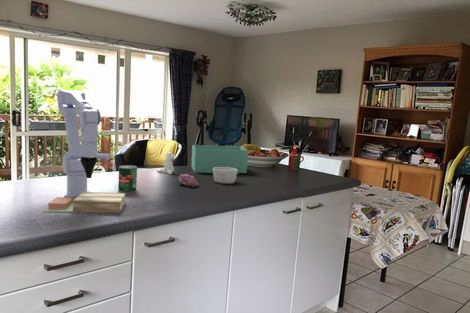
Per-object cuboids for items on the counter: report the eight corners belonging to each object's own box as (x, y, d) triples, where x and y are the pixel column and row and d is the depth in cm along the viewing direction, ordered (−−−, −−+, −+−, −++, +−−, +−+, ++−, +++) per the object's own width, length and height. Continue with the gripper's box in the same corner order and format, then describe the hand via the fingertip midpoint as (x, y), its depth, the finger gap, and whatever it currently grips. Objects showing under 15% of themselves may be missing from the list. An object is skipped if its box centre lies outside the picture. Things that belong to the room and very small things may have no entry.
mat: (56, 201, 149) (56, 200, 149) (82, 201, 151) (82, 200, 150) (43, 211, 134) (42, 210, 134) (71, 212, 136) (71, 211, 136)
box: (246, 174, 236) (248, 150, 234) (194, 172, 229) (195, 148, 228) (239, 168, 256) (240, 146, 254) (191, 167, 250) (192, 144, 248)
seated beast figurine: (156, 172, 221) (156, 152, 220) (164, 170, 229) (165, 150, 228) (170, 174, 218) (171, 153, 216) (178, 172, 226) (179, 152, 224)
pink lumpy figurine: (179, 187, 194) (175, 175, 191) (184, 181, 198) (181, 170, 194) (194, 190, 189) (191, 178, 186) (200, 184, 193) (196, 173, 189)
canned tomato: (117, 192, 168) (118, 167, 167) (118, 188, 176) (118, 165, 174) (136, 192, 170) (137, 168, 169) (136, 188, 178) (137, 165, 177)
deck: (82, 202, 150) (82, 191, 150) (125, 202, 152) (125, 193, 152) (72, 212, 136) (73, 200, 136) (119, 212, 139) (119, 202, 138)
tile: (72, 197, 147) (72, 202, 147) (56, 197, 146) (56, 202, 146) (66, 203, 138) (66, 209, 138) (48, 203, 137) (48, 208, 137)
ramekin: (232, 179, 216) (233, 166, 215) (240, 184, 203) (240, 171, 202) (209, 179, 212) (210, 166, 211) (215, 184, 199) (216, 171, 198)
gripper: (65, 141, 139) (65, 179, 141) (107, 143, 141) (107, 180, 143) (71, 140, 146) (71, 175, 148) (111, 141, 148) (110, 176, 150)
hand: (89, 177), depth 146 cm, fingers closed
